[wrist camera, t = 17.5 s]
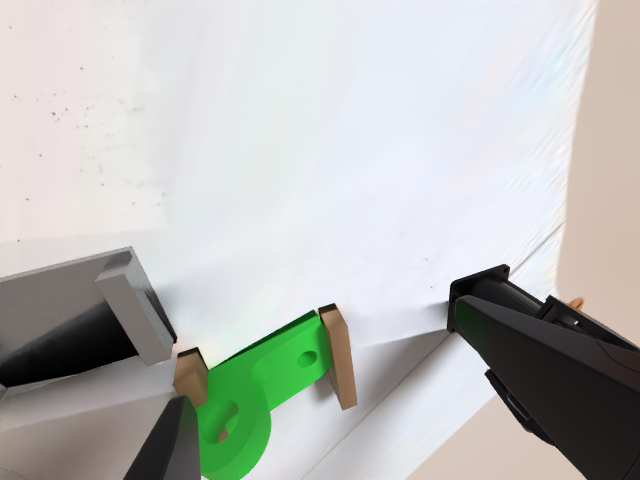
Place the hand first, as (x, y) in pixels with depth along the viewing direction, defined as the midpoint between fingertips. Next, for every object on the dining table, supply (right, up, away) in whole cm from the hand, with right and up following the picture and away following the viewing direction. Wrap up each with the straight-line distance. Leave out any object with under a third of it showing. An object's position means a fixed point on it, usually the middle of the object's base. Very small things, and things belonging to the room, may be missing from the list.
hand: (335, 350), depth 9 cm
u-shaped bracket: (-18, -2, +10) cm, 20 cm away
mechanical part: (-5, -7, +17) cm, 20 cm away
